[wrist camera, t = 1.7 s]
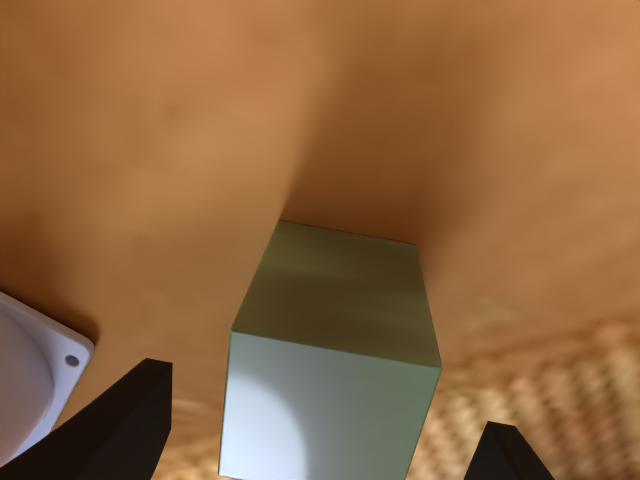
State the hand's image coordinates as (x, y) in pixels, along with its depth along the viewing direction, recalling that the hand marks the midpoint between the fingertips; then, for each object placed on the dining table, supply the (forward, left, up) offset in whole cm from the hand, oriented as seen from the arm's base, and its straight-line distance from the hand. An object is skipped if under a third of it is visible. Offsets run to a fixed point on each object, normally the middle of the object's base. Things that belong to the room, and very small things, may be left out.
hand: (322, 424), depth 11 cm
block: (0, 0, -6) cm, 6 cm away
